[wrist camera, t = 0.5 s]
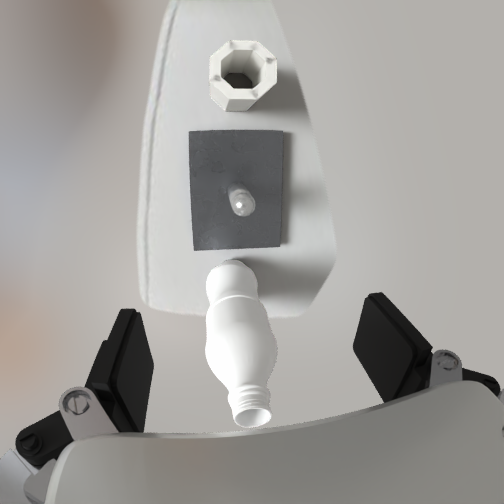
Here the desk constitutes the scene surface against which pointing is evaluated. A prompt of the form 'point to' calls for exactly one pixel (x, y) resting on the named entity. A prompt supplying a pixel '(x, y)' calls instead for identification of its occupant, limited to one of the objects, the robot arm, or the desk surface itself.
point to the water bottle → (240, 341)
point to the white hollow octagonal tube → (241, 61)
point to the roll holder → (236, 188)
